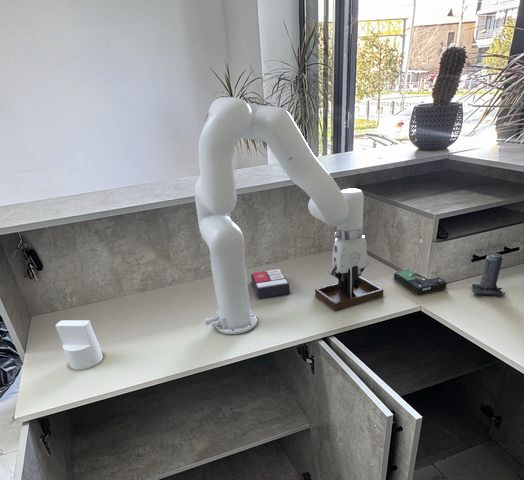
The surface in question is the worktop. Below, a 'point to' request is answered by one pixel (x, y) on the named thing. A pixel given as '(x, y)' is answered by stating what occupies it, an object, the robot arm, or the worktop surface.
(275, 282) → the calculator
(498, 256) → the grey cylinder on base
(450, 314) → the worktop surface
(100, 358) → the cylinder with rectangular tab
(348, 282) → the battery charger
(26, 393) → the worktop surface
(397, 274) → the disk drive
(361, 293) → the tray
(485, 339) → the worktop surface
